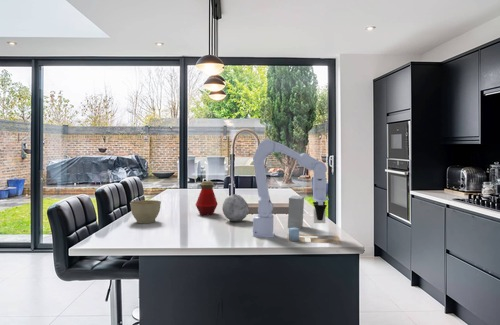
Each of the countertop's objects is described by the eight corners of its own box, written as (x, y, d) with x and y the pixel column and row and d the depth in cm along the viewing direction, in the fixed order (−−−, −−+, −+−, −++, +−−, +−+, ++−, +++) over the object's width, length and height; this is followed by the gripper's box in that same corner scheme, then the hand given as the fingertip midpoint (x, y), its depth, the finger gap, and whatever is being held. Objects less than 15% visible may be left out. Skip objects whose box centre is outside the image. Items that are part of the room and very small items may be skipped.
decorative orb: (253, 222, 194) (253, 194, 194) (228, 224, 188) (228, 196, 188) (241, 217, 208) (241, 192, 207) (218, 219, 201) (218, 193, 201)
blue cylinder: (288, 241, 153) (288, 229, 153) (288, 238, 158) (288, 227, 158) (299, 241, 153) (299, 230, 153) (299, 239, 157) (299, 227, 157)
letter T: (297, 241, 153) (297, 241, 153) (297, 235, 163) (297, 235, 163) (318, 242, 152) (318, 242, 152) (317, 236, 162) (317, 236, 162)
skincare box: (290, 225, 187) (291, 195, 187) (304, 226, 185) (304, 195, 184) (287, 228, 179) (287, 197, 179) (301, 229, 177) (301, 198, 176)
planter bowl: (157, 218, 206) (157, 199, 205) (163, 223, 191) (163, 203, 191) (128, 220, 199) (128, 200, 198) (132, 226, 184) (132, 205, 184)
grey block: (313, 223, 159) (313, 209, 158) (313, 220, 163) (313, 207, 163) (325, 223, 158) (325, 209, 158) (324, 220, 163) (324, 207, 163)
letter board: (286, 242, 153) (286, 241, 153) (287, 234, 167) (287, 233, 167) (342, 244, 150) (342, 243, 150) (337, 236, 164) (337, 235, 164)
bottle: (194, 212, 225) (194, 180, 225) (215, 211, 229) (215, 180, 228) (196, 216, 210) (196, 182, 209) (219, 215, 213) (219, 182, 213)
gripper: (330, 190, 152) (330, 222, 153) (327, 187, 167) (327, 216, 167) (313, 190, 153) (313, 221, 154) (311, 186, 168) (311, 215, 168)
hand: (319, 218), depth 161 cm, fingers closed on grey block, 5 cm apart
